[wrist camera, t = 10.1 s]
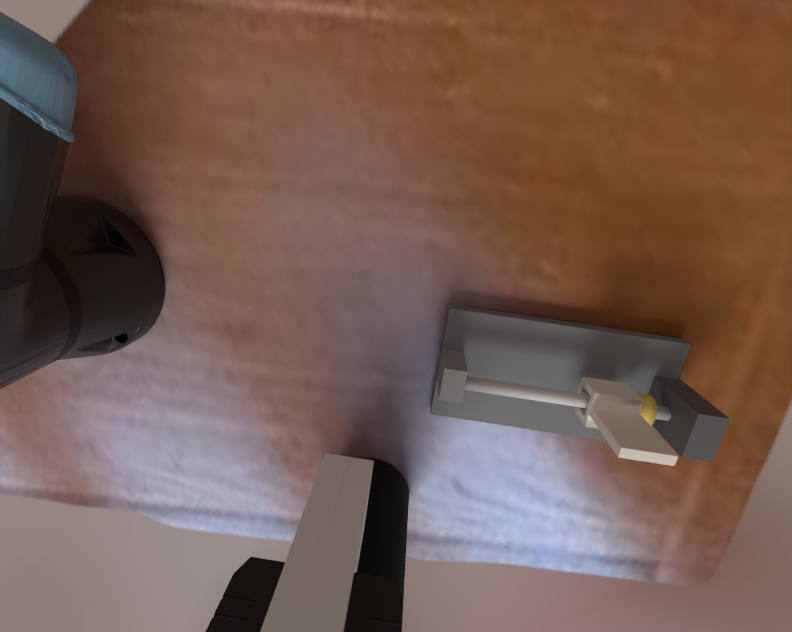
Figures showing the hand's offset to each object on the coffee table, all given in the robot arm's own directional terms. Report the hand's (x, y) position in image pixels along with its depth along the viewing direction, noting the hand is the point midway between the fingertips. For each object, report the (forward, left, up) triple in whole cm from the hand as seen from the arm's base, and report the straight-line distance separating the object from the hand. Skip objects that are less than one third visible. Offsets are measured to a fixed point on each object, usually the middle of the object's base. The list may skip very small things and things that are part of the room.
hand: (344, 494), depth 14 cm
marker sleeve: (+20, -7, -26) cm, 33 cm away
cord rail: (+16, -7, -29) cm, 34 cm away
